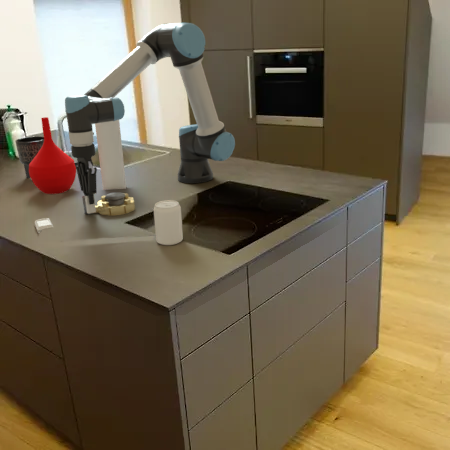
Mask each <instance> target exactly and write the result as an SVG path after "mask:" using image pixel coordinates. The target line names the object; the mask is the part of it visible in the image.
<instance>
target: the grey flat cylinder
mask: <svg viewBox="0 0 450 450" xmlns="http://www.w3.org/2000/svg"><path fill="white" fill-rule="evenodd" d="M124 193H125V192H121V191H118V192H110V193H107V194H105V195H104V196H105V198H106V199H107V200H108V202H109V205H111V206H112V205H121V204H124V197H125V194H124Z"/></svg>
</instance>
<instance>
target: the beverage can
mask: <svg viewBox="0 0 450 450" xmlns="http://www.w3.org/2000/svg"><path fill="white" fill-rule="evenodd" d="M153 218H154V231H155V240H156V243H158V244H160V245H163V246H172V245H176V244H177V245H178V244H179V243H181V242H182V241H183V238H184V237H183V236H184V234H183V221H182V219H183V218H182V207H181V205H180V203H179V201H177V200H173V199H169V200H167V199H166V200H165V199H164V200H160V201H157V202H156V203H154V207H153Z"/></svg>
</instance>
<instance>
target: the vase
mask: <svg viewBox="0 0 450 450" xmlns="http://www.w3.org/2000/svg"><path fill="white" fill-rule="evenodd" d="M40 120H41V127H42V133H43V137H44V143H43V146H42V147H41V149H40V150H39V152H38V153H37V155H36V156H35V157H34V159H33V160H32V161H31V163H30V164H29V175H30V179H31V181H32V183H33V185H34V186H35V187H36V188H37V189H38V190H39V191H40V192H41V193H42V194H45V195H59V194H63V193H66V192H68V191H69V190H70V189H71V188H72V186H73V184H74V183H75V180H76V175H77V170H76V167H75V163H76V162H75V159H73V157H71V156H69V155H68V154H67V153H66V152H64V151H63V150H62V148H60V147H59V146H58V145H57V144H56V143H55V142H54V139H53V138H52V131H51V125H50V120H49V117H40Z"/></svg>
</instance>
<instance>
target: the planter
mask: <svg viewBox="0 0 450 450" xmlns="http://www.w3.org/2000/svg"><path fill="white" fill-rule="evenodd" d="M43 143H44V136H40V135H38V136H37V135H35V136H27V137H26V136H25V137H20V138H17V139H16V140H15V146H16V151H17V155H18V159H19V162H20V163H21V164H23V167H24V172H25V177H26V178H27V179H31V177H30V175H29V164H30V163H31V161H32V160H33V159H34V157H35V156H36V155H37V153H38V152H39V150H40V149H41V147H42V146H43Z"/></svg>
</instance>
